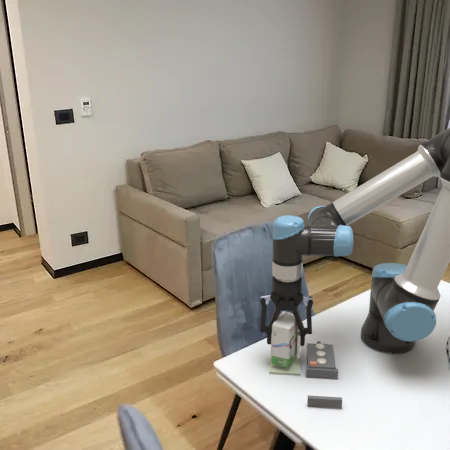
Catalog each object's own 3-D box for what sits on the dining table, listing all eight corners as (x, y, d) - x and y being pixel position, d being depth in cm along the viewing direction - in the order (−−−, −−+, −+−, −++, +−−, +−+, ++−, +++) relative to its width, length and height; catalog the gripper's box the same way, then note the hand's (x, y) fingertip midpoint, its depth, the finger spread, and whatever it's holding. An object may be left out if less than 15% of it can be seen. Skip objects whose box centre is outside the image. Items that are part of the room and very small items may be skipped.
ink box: (288, 368, 134) (289, 328, 130) (271, 364, 136) (271, 324, 132) (299, 351, 141) (300, 313, 138) (282, 347, 144) (282, 310, 140)
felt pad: (299, 354, 144) (299, 352, 144) (300, 375, 134) (300, 373, 134) (270, 352, 145) (270, 350, 145) (269, 373, 135) (269, 371, 135)
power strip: (332, 344, 148) (333, 333, 147) (341, 409, 122) (342, 395, 121) (304, 343, 149) (304, 332, 148) (307, 406, 123) (308, 393, 122)
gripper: (324, 271, 133) (320, 348, 141) (250, 269, 136) (250, 345, 143) (326, 283, 126) (322, 364, 134) (248, 281, 129) (248, 360, 136)
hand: (285, 354), depth 139 cm, fingers closed on ink box, 6 cm apart
